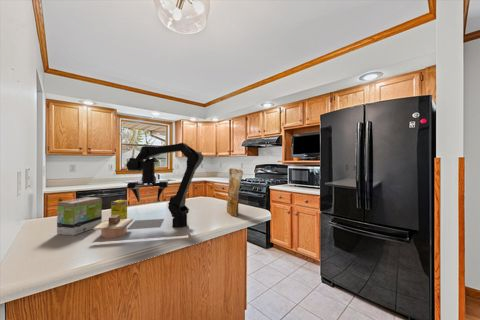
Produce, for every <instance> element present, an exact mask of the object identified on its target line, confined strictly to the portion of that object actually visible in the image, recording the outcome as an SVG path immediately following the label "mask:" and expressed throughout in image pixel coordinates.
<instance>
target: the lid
mask: <svg viewBox="0 0 480 320" xmlns="http://www.w3.org/2000/svg"><path fill="white" fill-rule="evenodd" d="M133 220H134V219H133V218H125V219H120V215H112V216H110V217H108V219H105V220H103V221H102V223H100V224H99V225H97V226H96V227H94V228H93V231H101V230H105V229H120V228H126V227H127V228H128V227H129V226H130V225H131V224H132V223H133V222H134V221H133ZM131 222H132V223H131Z"/></svg>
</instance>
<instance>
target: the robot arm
mask: <svg viewBox="0 0 480 320" xmlns="http://www.w3.org/2000/svg"><path fill="white" fill-rule="evenodd" d="M177 152H181V154H182V155H184V156H185V157H186V158H187V159H186V169H185V171H184V174H183V176H182V179H181V181H180V184H179V187H178V189H177V192H176V194H175V195H173V196H170V198H169V201H168V203H167V205H168V206H167V207H168V210H169V212H170V214H171V217H172V228H184V227H188V213H189V211H190V208H188V207H187V205H186V199H187V198H186V196H187V194H188V191H189V188H190V185H191V184H192V180H193V177H194V175H195V172H196V171H197V169H198V168H199V167H200V165H201V164H202V162H203V160H204V155H203V154H202V153H201V152H200V151H196V150H195V149H194V148H192V147H190V146H189V145H188V144H187V143H184V142H179V143H175V144H168V145H167V144H166V145H162V146H161V145H160V146H151V145H150V146H148V145H143V146H142V147H141V148H140V151H139V153H138V154H137V156H136V157H129V160H128V161H127V163H126V168H127V170H128V172H130V171H131V172H141V171H142V172H141V181H142V182H139V181H130V182H128V183H127V185H126V189H129V190H130V191H132V192H133V194H134V196H135V199H136V200H137V202H138V203H140V201H141V200H140V198H141V197H140V187H141V188H143V187H144V188H146V187H158V189H157V197H156V198H157V202H159V201H160V198H161V195H162V193H163V190H166V188H168V187H169V181H168V180H162V181H161V180H160V181H159V182H157V181H156V180H157V177H156V174H155V164H156V163H158V162H159V160H158V159H157V158H156V157H159V156H160V155H164V154H171V153H177Z"/></svg>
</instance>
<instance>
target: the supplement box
mask: <svg viewBox="0 0 480 320" xmlns="http://www.w3.org/2000/svg"><path fill="white" fill-rule="evenodd" d="M110 215H111V216H112V215H120V219H128V200H127V199H123V200H122V199H117V200H114V201H110ZM111 216H110V217H111Z"/></svg>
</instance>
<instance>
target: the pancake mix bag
mask: <svg viewBox="0 0 480 320" xmlns="http://www.w3.org/2000/svg"><path fill="white" fill-rule="evenodd" d="M228 170H229V171H228V172H229V175H228V189H227V190H228V191H227V201H226V202H227V203H226V213H228V214H229V215H230V216H231V217H238V216H239V193H240V187H241V182H242V179H243V176H244V171H243V170H242V169H237V168H229V169H228Z"/></svg>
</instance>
